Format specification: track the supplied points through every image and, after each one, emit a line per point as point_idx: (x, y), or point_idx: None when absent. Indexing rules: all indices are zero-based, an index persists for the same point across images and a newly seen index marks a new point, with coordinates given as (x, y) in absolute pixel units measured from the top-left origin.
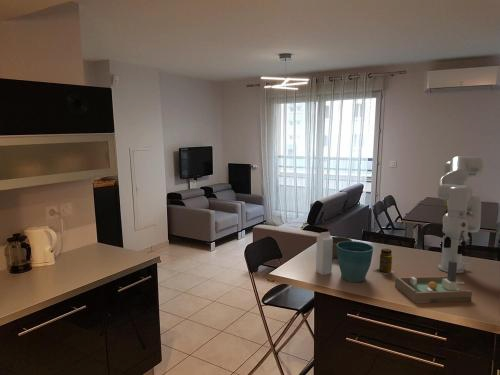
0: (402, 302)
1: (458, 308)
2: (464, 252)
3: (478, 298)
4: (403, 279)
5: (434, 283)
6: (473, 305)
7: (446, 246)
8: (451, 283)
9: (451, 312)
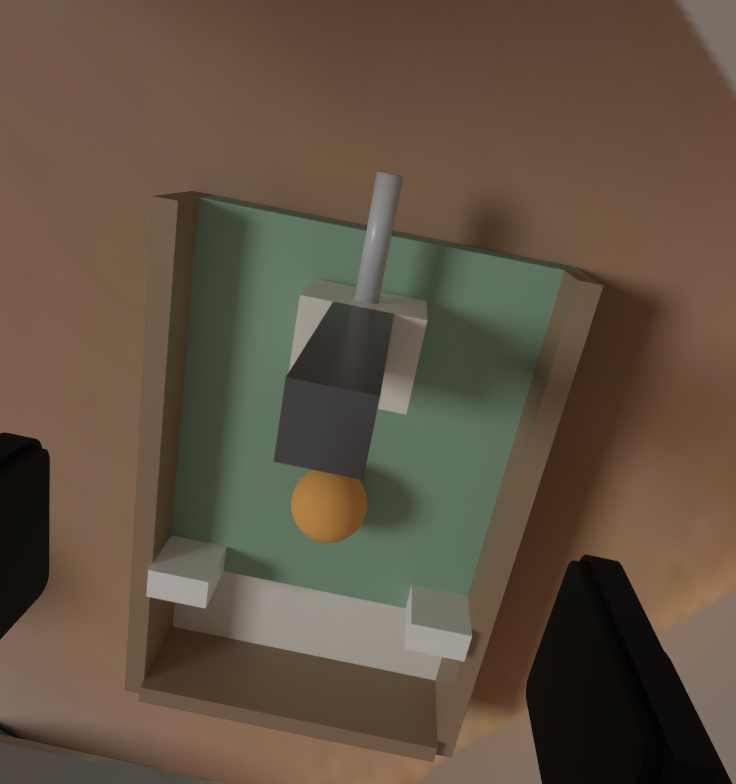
0: None
1: (635, 487)
2: (626, 591)
3: (560, 137)
4: (151, 631)
5: (348, 523)
6: (650, 325)
7: (28, 572)
8: (412, 385)
9: (660, 582)
